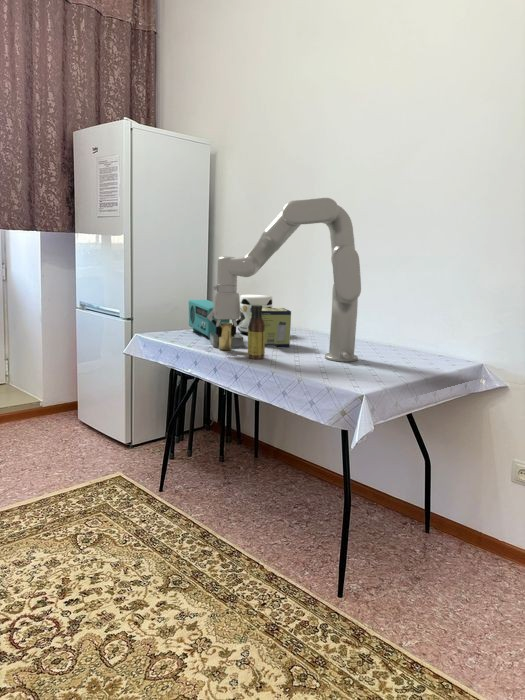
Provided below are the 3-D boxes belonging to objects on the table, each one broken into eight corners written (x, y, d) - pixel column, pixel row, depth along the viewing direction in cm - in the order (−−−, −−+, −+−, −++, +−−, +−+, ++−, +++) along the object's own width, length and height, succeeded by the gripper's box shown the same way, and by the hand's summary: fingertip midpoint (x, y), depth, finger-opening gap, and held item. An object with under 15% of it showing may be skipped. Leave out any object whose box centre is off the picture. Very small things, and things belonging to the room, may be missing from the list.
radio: (186, 330, 257) (186, 299, 255) (207, 330, 261) (207, 299, 259) (206, 343, 227) (207, 308, 224) (229, 342, 231) (230, 307, 228)
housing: (243, 349, 215) (243, 337, 214) (213, 349, 212) (213, 337, 211) (238, 344, 226) (238, 332, 225) (209, 344, 224) (210, 332, 223)
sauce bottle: (256, 355, 204) (258, 303, 200) (267, 358, 200) (269, 305, 196) (243, 357, 200) (245, 304, 196) (255, 360, 195) (257, 306, 191)
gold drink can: (231, 350, 206) (233, 324, 204) (219, 349, 205) (221, 323, 203) (230, 347, 211) (231, 322, 209) (218, 347, 209) (219, 322, 208)
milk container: (229, 332, 257) (230, 295, 254) (256, 329, 269) (257, 293, 265) (253, 337, 245) (254, 298, 241) (280, 334, 256) (282, 297, 253)
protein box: (248, 343, 230) (249, 307, 227) (283, 343, 234) (284, 307, 231) (254, 347, 220) (255, 310, 217) (290, 347, 224) (292, 310, 221)
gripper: (205, 289, 198) (204, 338, 201) (250, 290, 202) (249, 338, 205) (203, 288, 205) (202, 335, 209) (247, 289, 209) (245, 335, 212)
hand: (225, 336), depth 207 cm, fingers closed on gold drink can, 5 cm apart
